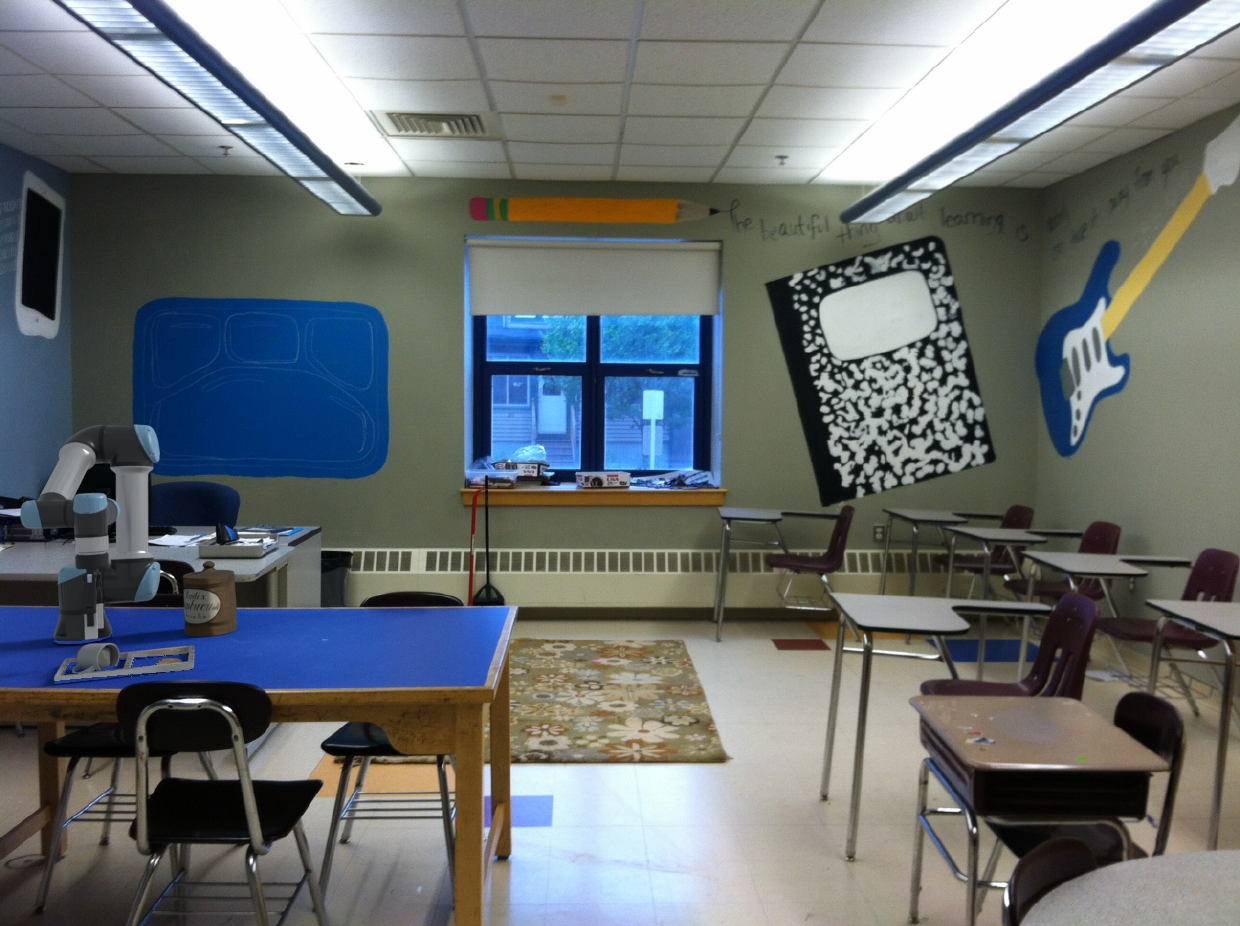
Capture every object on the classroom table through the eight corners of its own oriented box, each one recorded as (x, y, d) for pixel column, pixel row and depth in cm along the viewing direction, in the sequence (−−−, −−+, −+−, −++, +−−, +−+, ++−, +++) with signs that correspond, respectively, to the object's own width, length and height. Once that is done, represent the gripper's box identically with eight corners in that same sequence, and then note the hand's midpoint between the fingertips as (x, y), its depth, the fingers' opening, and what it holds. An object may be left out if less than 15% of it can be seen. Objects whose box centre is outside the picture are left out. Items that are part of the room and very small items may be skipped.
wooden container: (173, 635, 271) (171, 564, 270) (208, 624, 285) (206, 556, 284) (214, 638, 267) (212, 566, 266) (247, 627, 281) (245, 558, 280)
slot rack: (65, 665, 238) (65, 658, 238) (194, 652, 251) (194, 645, 251) (54, 685, 221) (54, 677, 220) (193, 669, 234) (193, 661, 234)
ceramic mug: (96, 665, 238) (95, 638, 237) (120, 667, 236) (119, 640, 235) (64, 677, 228) (62, 649, 228) (89, 679, 226) (87, 650, 226)
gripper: (81, 548, 241) (84, 625, 241) (68, 559, 218) (71, 645, 219) (113, 546, 244) (115, 622, 245) (103, 557, 221) (106, 641, 222)
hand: (94, 633), depth 232 cm, fingers open, 13 cm apart
